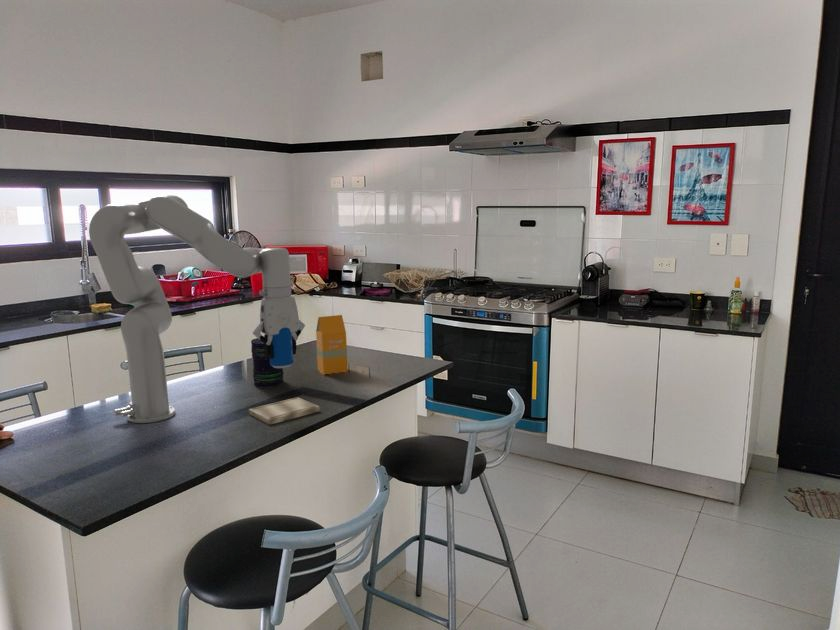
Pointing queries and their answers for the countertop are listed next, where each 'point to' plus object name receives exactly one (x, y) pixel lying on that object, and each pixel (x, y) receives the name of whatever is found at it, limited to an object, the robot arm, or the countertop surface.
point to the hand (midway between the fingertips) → (281, 355)
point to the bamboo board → (283, 410)
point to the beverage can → (282, 349)
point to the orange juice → (331, 345)
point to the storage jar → (264, 367)
